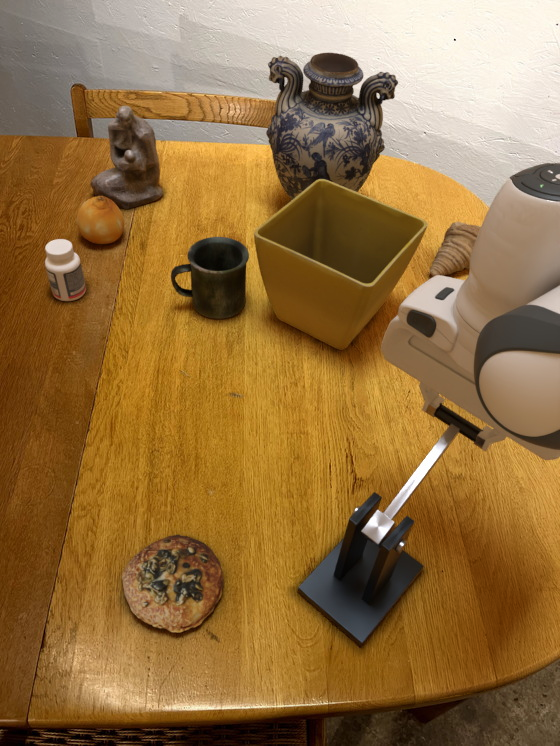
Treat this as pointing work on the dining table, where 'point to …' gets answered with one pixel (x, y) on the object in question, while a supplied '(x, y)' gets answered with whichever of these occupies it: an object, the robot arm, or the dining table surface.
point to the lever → (418, 475)
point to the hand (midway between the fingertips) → (456, 427)
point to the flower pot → (334, 259)
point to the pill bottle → (64, 270)
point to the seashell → (455, 249)
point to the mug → (215, 276)
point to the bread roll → (173, 583)
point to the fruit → (100, 220)
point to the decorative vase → (326, 122)
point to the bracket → (362, 576)
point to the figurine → (130, 163)
